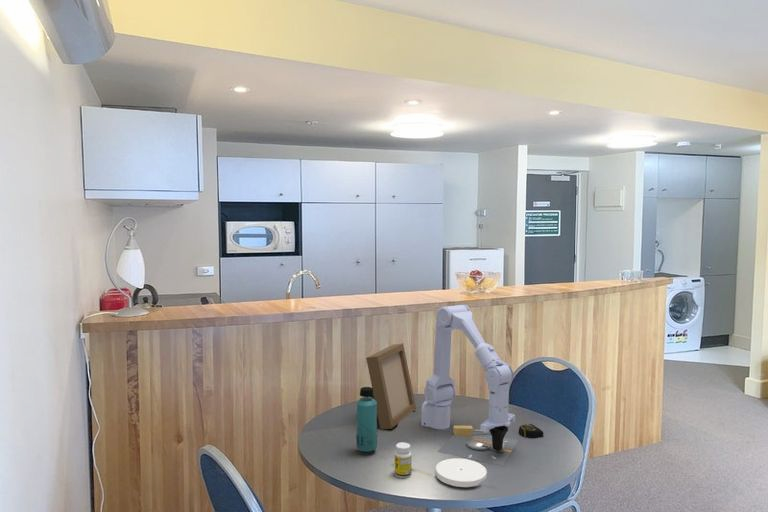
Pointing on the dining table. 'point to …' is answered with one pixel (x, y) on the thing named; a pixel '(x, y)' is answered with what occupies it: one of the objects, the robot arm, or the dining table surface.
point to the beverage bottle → (366, 421)
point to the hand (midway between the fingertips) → (497, 449)
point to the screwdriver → (464, 431)
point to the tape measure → (530, 431)
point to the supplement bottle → (403, 460)
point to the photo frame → (391, 385)
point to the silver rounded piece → (481, 444)
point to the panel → (459, 448)
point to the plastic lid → (461, 472)
